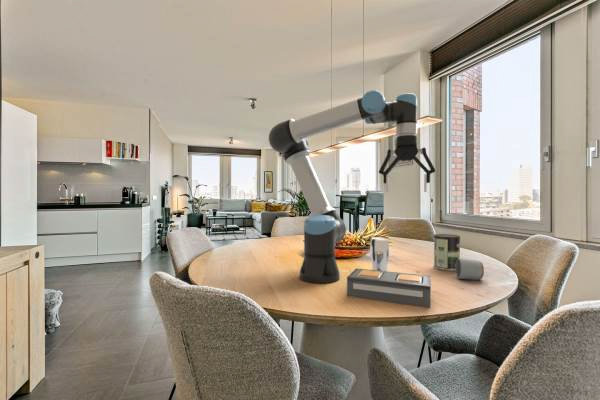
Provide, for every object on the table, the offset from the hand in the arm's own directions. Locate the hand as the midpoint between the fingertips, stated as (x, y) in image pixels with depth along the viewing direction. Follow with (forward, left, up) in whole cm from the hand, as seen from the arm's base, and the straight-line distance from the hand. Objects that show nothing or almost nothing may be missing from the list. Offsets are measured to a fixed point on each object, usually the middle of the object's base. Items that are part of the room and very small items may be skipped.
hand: (406, 192), depth 116 cm
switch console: (-3, -24, -33) cm, 41 cm away
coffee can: (+15, +23, -33) cm, 43 cm away
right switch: (+3, -24, -30) cm, 38 cm away
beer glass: (-9, -5, -33) cm, 34 cm away
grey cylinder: (+22, +9, -33) cm, 40 cm away
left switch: (-9, -24, -30) cm, 39 cm away
